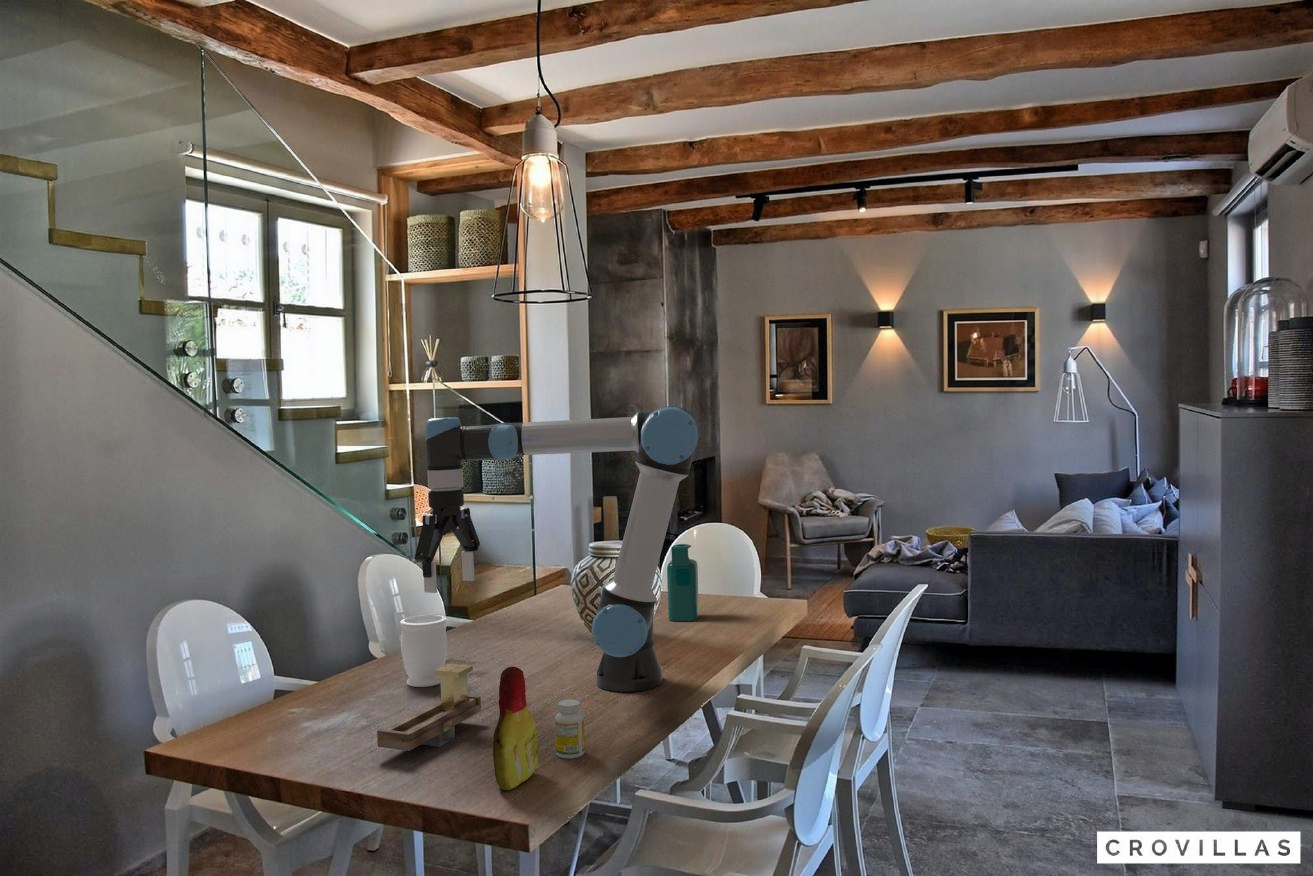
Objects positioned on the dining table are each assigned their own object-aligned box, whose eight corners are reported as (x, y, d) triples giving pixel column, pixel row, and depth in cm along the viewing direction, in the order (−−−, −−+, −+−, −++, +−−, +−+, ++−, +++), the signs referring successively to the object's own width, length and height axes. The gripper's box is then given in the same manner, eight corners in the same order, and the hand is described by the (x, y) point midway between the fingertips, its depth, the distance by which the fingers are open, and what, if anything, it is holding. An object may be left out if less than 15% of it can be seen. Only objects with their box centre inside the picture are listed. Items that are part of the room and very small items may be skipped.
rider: (450, 702, 204) (448, 663, 204) (473, 704, 202) (472, 665, 202) (436, 709, 199) (434, 670, 199) (459, 712, 197) (458, 672, 197)
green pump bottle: (671, 615, 298) (669, 541, 297) (699, 615, 296) (697, 541, 295) (667, 622, 288) (664, 547, 287) (696, 622, 287) (694, 546, 286)
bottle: (516, 797, 165) (512, 677, 164) (482, 793, 167) (477, 675, 166) (546, 770, 176) (542, 658, 175) (513, 767, 178) (509, 656, 177)
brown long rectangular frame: (451, 719, 206) (450, 693, 206) (482, 723, 203) (481, 696, 203) (377, 759, 184) (376, 730, 184) (410, 764, 181) (409, 734, 181)
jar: (456, 678, 237) (454, 615, 236) (433, 690, 227) (431, 625, 226) (418, 675, 240) (415, 613, 239) (393, 687, 230) (390, 623, 230)
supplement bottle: (570, 761, 180) (568, 709, 180) (549, 755, 184) (548, 703, 183) (591, 752, 185) (589, 701, 184) (570, 746, 188) (569, 696, 188)
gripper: (465, 483, 229) (469, 575, 230) (394, 494, 206) (399, 596, 207) (492, 483, 226) (497, 576, 227) (423, 495, 203) (428, 598, 204)
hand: (450, 586), depth 217 cm, fingers open, 13 cm apart
